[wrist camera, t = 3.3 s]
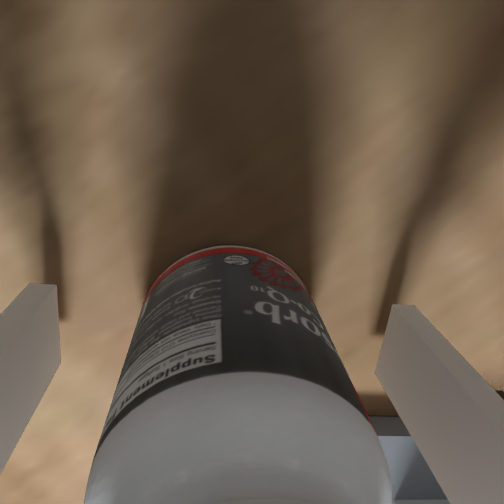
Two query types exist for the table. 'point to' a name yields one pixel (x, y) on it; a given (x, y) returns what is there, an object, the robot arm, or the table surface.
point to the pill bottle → (235, 396)
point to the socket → (406, 464)
